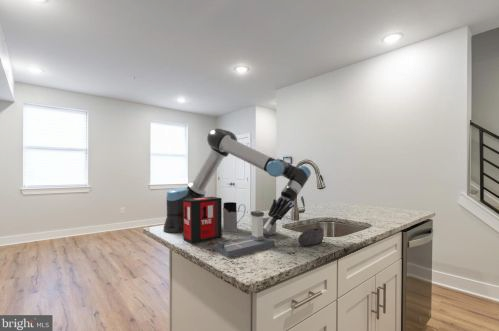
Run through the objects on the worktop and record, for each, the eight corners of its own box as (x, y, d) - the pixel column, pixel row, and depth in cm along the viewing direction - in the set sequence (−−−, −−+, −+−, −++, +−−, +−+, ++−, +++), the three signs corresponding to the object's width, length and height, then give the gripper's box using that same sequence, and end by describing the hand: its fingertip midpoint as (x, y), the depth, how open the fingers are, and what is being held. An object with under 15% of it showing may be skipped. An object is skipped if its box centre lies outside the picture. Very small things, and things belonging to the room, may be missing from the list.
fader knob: (250, 238, 113) (250, 211, 113) (257, 236, 115) (257, 210, 115) (257, 240, 109) (257, 213, 109) (264, 239, 111) (264, 212, 111)
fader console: (213, 249, 106) (213, 239, 106) (258, 239, 120) (258, 230, 120) (227, 257, 96) (227, 246, 96) (274, 246, 110) (274, 236, 110)
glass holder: (220, 228, 143) (220, 202, 143) (242, 225, 150) (242, 201, 150) (225, 231, 135) (225, 204, 135) (248, 228, 142) (248, 202, 142)
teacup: (273, 237, 123) (273, 221, 123) (253, 236, 127) (253, 220, 127) (279, 231, 136) (279, 216, 137) (260, 229, 140) (260, 215, 140)
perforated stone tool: (302, 249, 106) (302, 233, 106) (294, 245, 110) (294, 230, 110) (327, 243, 113) (327, 228, 113) (318, 240, 118) (318, 226, 118)
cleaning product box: (212, 234, 131) (212, 196, 131) (221, 237, 124) (221, 198, 124) (183, 240, 120) (183, 199, 121) (191, 244, 113) (191, 201, 114)
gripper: (304, 197, 120) (279, 237, 110) (285, 195, 130) (261, 231, 121) (296, 187, 117) (270, 227, 107) (278, 185, 127) (252, 222, 118)
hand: (265, 229), depth 114 cm, fingers closed
